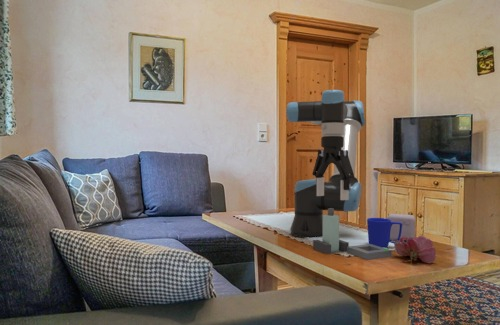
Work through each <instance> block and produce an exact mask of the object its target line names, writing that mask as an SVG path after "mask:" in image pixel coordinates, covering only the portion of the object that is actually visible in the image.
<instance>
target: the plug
mask: <svg viewBox="0 0 500 325" xmlns="http://www.w3.org/2000/svg"><path fill="white" fill-rule="evenodd" d="M339 240H340V215H337V214H335V211H334V208H328V210H327V214H323V237H322V240H321V241H323V242H325V243H328V244H331V252H333V251H339Z"/></svg>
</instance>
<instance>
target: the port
mask: <svg viewBox="0 0 500 325" xmlns="http://www.w3.org/2000/svg"><path fill="white" fill-rule="evenodd" d="M346 253H347V254H350V255H352V256H354V257H357V258H360V259H363V260H366V261H369V260H371V261H372V260H377V259H385V258H391V257H393V256H392V254H393V250H392V249H389V248H388V247H387V248H384V247H379V246H375V245H372V244H369V243H368V244H367V243H365V244H359V245H349V246H348V247H347V252H346Z"/></svg>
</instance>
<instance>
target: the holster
mask: <svg viewBox="0 0 500 325" xmlns="http://www.w3.org/2000/svg"><path fill="white" fill-rule="evenodd" d="M348 246H350V245H349V242H348V241H345V240H341V239H339V251H333V252H331V244H328V243H325V242H323V241H322V240H320V239H313V240H312V249H313V250H316V251H318V252H320V253H322V254H323V253H324V254H325V255H332V254H340V253H347V247H348Z"/></svg>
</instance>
